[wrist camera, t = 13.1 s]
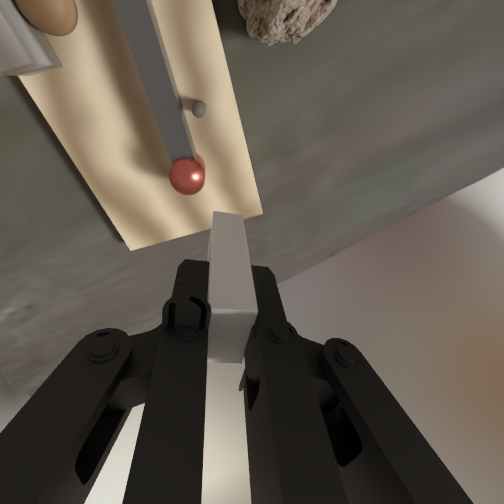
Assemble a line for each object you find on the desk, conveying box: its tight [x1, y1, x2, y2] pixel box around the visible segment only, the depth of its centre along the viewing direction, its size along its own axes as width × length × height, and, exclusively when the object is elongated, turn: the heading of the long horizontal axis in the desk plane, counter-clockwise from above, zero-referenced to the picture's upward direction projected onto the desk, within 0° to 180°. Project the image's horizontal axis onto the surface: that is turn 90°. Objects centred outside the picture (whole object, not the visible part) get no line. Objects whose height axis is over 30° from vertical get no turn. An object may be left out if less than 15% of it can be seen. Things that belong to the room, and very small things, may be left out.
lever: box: [113, 0, 206, 195], centre depth 24 cm, size 4×18×4 cm, turn 10°
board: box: [0, 0, 263, 251], centre depth 25 cm, size 19×30×7 cm, turn 14°
